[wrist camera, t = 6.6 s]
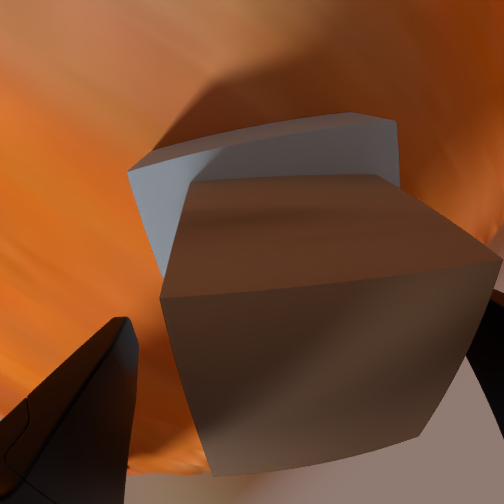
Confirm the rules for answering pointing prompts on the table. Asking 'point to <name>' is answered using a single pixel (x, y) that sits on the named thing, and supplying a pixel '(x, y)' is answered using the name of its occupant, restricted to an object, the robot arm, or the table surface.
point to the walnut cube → (317, 316)
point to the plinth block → (259, 163)
